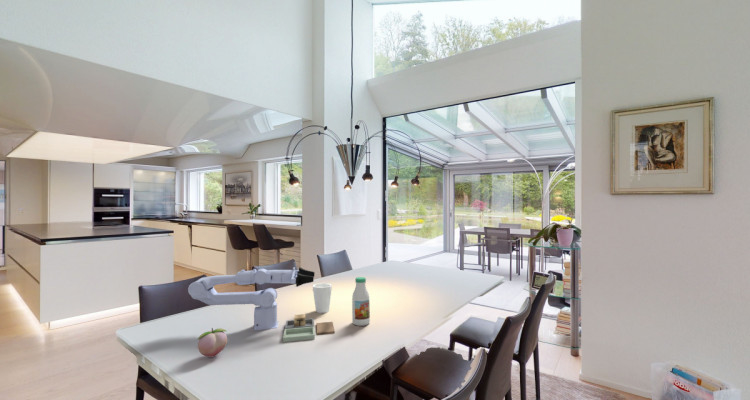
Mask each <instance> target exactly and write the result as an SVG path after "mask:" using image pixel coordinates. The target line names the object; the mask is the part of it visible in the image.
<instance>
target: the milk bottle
mask: <svg viewBox="0 0 750 400" xmlns="http://www.w3.org/2000/svg"><path fill="white" fill-rule="evenodd" d="M366 281H367V279H366V277H365V276H364V277H363V276H359V277H358V276H357V277H356V278H355V281H354V282H355V287H354V290H353V293H352V295H351V296H352V299H351V303H352V304H351V308H352V310H351V311H352V312H351V316H352V318H351V319H352V321H351V322H352V324H353V325H354V326H357V327H359V326H360V327H362V326H363V327H364V326H368V325H369V324H370V321H371V319H370V318H371V315H370V314H371V312H370V306H371V305H370V294H369V291H368V289H367V286H366Z"/></svg>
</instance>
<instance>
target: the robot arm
mask: <svg viewBox="0 0 750 400" xmlns="http://www.w3.org/2000/svg"><path fill="white" fill-rule="evenodd" d="M314 278H315V271H312V270H307V269H306V268H305V269H304V268H302V267H298V269H296V267H292V269H266V268H262V267H261V268H259V269H258V270H257V269H256V268H253V269H252V270H245V269H241V270H240V271H237V273H236V274H225V275H223V274H222V275H210V276H204V277H201V278H199V279H197V280H196V281H193V282H191V283H190V284H189V285H188V288H187V292H188V294H189V295H190V296H191V298H192V299H193V300H198V301H201V302H202V303H204V304H206V305H209V306H222V305H223V306H227V305H228V306H229V305H230V306H231V305H254V306H255V307H254V311H253V331H259V330H260V331H261V330H271V329H278V326H279V323H280V322H279V320H278V303H277V302H276V299H277V298H278V291H277V290H276V289H275V288H273V287H268V288H266V289H263V290H257V291H236V292H235V291H233V292H230V291H228V292H218V291H217V290H216V289H215V287H214V286H217V285H218V286H219V285H225V284H233V283H236V284H237V285H239V286H241V285H242V286H244V285H252V284H253V285H254V284H257V285H263V284H291V285H292V284H293V285H295V287H297V288H298V287H300V286H302V285H305V284H310V283H314V280H315V279H314Z"/></svg>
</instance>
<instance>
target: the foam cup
mask: <svg viewBox="0 0 750 400" xmlns="http://www.w3.org/2000/svg"><path fill="white" fill-rule="evenodd" d="M332 285H333V284H332V283H328V282H320V283H319V282H318V283H315V284H313V285H312V292H313V300H314V305H315V306H314V307H315V313H319V314H326V313H328V312H329V311H330V305H331V298H332V297H331V296H332V290H333V289H332V288H333V287H332Z"/></svg>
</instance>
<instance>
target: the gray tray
mask: <svg viewBox="0 0 750 400" xmlns="http://www.w3.org/2000/svg"><path fill="white" fill-rule="evenodd" d="M303 327H314V328H315V318H312V317H311V318H305V326H297V327H294V319H289V320H286V321H285V325H284V330H285V329H292V328H303Z"/></svg>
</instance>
